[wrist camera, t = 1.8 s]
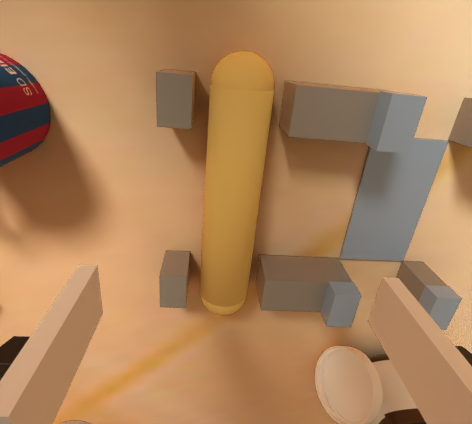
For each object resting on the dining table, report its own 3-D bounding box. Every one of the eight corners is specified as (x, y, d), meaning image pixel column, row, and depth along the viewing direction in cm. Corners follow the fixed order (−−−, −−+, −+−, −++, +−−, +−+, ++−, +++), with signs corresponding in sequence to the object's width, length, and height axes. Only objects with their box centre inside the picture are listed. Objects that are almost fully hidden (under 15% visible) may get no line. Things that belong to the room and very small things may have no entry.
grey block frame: (165, 67, 21) (151, 70, 16) (491, 98, 23) (557, 109, 18) (166, 280, 28) (156, 322, 24) (412, 289, 30) (446, 329, 26)
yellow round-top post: (212, 48, 21) (211, 47, 17) (273, 54, 21) (285, 54, 17) (199, 292, 29) (197, 325, 26) (243, 293, 30) (246, 326, 26)
